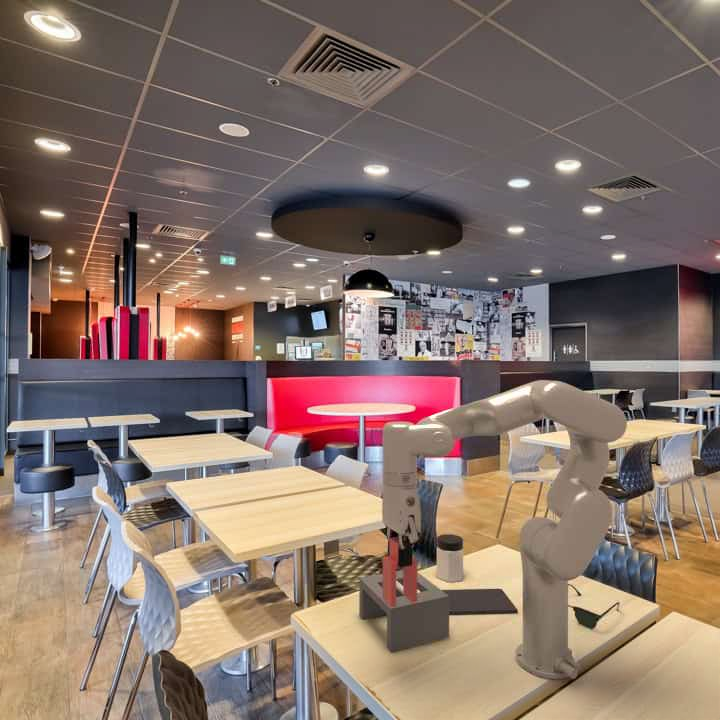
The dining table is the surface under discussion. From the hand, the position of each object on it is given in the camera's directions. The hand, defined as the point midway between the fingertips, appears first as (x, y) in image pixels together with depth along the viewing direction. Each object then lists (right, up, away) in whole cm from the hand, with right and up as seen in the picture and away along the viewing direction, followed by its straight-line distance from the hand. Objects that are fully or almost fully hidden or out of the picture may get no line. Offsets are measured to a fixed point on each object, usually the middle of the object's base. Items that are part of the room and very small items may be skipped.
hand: (399, 561), depth 107 cm
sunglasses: (+52, -24, +25) cm, 63 cm away
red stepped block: (0, -8, 0) cm, 8 cm away
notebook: (+23, -24, +29) cm, 44 cm away
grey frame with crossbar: (+2, -23, +17) cm, 29 cm away
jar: (+20, -24, +46) cm, 56 cm away
